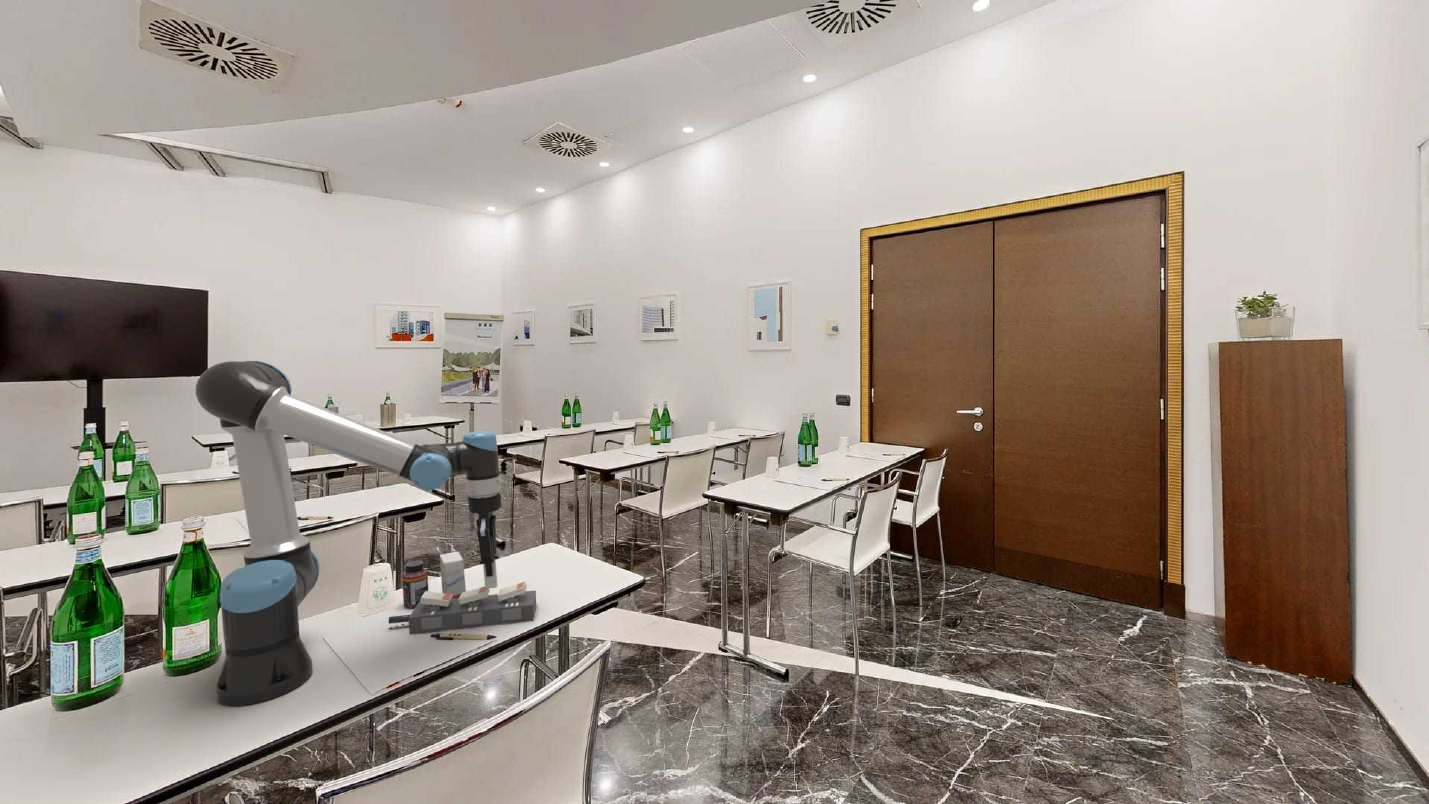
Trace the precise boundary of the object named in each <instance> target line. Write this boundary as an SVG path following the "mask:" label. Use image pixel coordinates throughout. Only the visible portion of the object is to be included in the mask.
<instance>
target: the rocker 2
mask: <svg viewBox="0 0 1429 804" xmlns="http://www.w3.org/2000/svg"><path fill="white" fill-rule="evenodd" d="M490 592H491V590H490V588H489V589H485V586H482V587H479V588H474V589H470V590H466V592H463V593H462V594H461V596H460V597H459V603H460V604H464V603H468V602H471V601H472V602H473V603H474V602H475V600H479V599H482V598H486V597H487V596H488V595H490V594H489V593H490Z"/></svg>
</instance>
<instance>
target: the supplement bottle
mask: <svg viewBox="0 0 1429 804" xmlns="http://www.w3.org/2000/svg"><path fill="white" fill-rule="evenodd" d="M428 574H429V573H428V569H426V568H424V562H423V561H422V560H414V561H409V562H407V563H406V564H405V571H404V572H403V573H402V576H401V577H402V578H401V580H402V597H403V598H402V599H403V600H402V601H403V607H404V608H406V609H411V610H412V609H413V610H414V609H415V607H416V606H417V604H418V603H419V602H420V600H421V597H422V595H423V594H424V592H425V591H429V575H428Z"/></svg>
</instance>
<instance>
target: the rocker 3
mask: <svg viewBox="0 0 1429 804" xmlns="http://www.w3.org/2000/svg"><path fill="white" fill-rule="evenodd" d="M527 589H528V587H527V582H526V581H522V582H519V583H516V584H513V585H511V586H507V587H504V588H502V589H499V591H498V593H497V594H498V599H499V601H502V600H505V599H508V598H512V599H513V598H514V596H517V595H520V594H523V593H525V592H526V591H527Z"/></svg>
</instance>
